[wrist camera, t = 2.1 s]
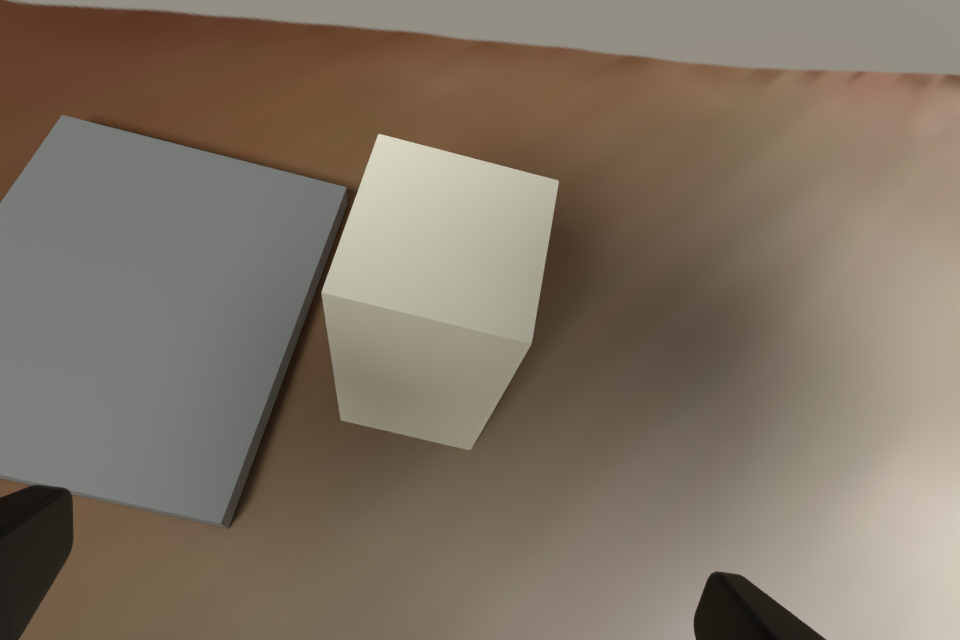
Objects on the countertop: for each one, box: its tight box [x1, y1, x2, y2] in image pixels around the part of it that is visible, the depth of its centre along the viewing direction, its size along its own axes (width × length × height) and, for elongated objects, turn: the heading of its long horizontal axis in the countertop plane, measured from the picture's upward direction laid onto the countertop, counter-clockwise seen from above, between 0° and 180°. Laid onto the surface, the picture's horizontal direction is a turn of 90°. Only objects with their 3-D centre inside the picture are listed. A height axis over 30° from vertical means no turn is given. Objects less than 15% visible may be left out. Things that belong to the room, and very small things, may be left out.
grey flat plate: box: [0, 115, 348, 529], centre depth 23 cm, size 12×14×1 cm
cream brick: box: [321, 134, 559, 451], centre depth 20 cm, size 5×5×10 cm
